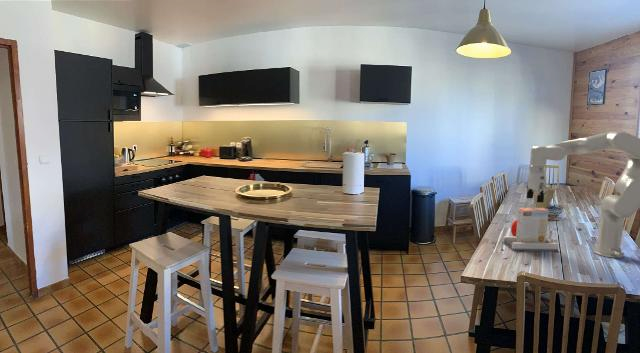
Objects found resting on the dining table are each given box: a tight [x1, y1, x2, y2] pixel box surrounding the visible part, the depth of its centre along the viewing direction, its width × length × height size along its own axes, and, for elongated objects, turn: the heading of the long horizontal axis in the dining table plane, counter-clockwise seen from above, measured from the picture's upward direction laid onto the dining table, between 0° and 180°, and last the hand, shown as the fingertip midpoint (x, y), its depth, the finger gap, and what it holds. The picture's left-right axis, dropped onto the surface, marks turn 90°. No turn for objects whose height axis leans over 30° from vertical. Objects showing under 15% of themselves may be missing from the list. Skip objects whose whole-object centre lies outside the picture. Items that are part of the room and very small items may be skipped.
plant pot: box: [533, 186, 556, 209], centre depth 286 cm, size 15×15×16 cm
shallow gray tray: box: [502, 235, 559, 252], centre depth 198 cm, size 12×24×4 cm, turn 89°
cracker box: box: [516, 207, 550, 243], centre depth 197 cm, size 14×6×21 cm, turn 91°
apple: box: [510, 219, 517, 237], centre depth 209 cm, size 10×10×12 cm
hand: (534, 200), depth 194 cm, fingers open, 9 cm apart
